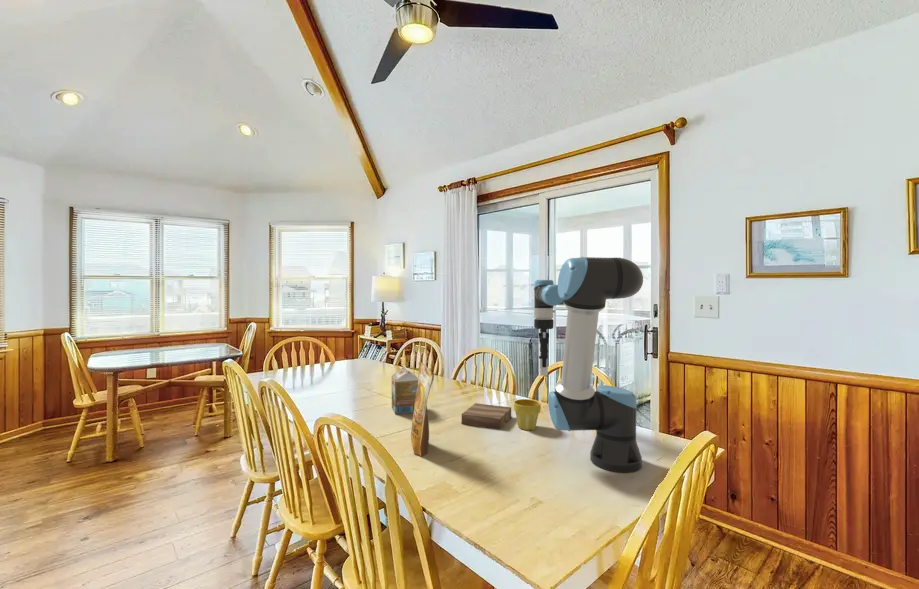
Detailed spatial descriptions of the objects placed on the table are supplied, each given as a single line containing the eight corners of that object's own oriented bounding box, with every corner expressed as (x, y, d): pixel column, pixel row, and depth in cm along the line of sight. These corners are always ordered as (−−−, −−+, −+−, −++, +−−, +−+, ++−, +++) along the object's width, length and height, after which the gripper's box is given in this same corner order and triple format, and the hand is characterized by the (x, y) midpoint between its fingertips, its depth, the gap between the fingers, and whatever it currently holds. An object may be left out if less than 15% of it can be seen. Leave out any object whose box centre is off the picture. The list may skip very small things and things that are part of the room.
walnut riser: (500, 429, 162) (500, 418, 161) (461, 423, 168) (461, 413, 167) (511, 416, 176) (511, 407, 176) (475, 412, 182) (475, 403, 182)
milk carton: (391, 407, 190) (391, 365, 189) (414, 405, 193) (414, 364, 192) (395, 414, 180) (395, 370, 179) (419, 412, 183) (419, 368, 182)
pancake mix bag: (427, 436, 154) (427, 360, 153) (434, 457, 135) (434, 371, 135) (409, 437, 153) (409, 360, 152) (413, 459, 134) (413, 371, 133)
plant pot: (539, 423, 168) (539, 399, 168) (541, 432, 158) (541, 406, 158) (513, 422, 169) (513, 398, 169) (513, 431, 159) (514, 405, 159)
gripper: (555, 321, 154) (554, 379, 155) (552, 316, 179) (551, 366, 179) (534, 321, 156) (534, 378, 156) (534, 316, 180) (534, 365, 181)
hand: (543, 371), depth 168 cm, fingers open, 13 cm apart
